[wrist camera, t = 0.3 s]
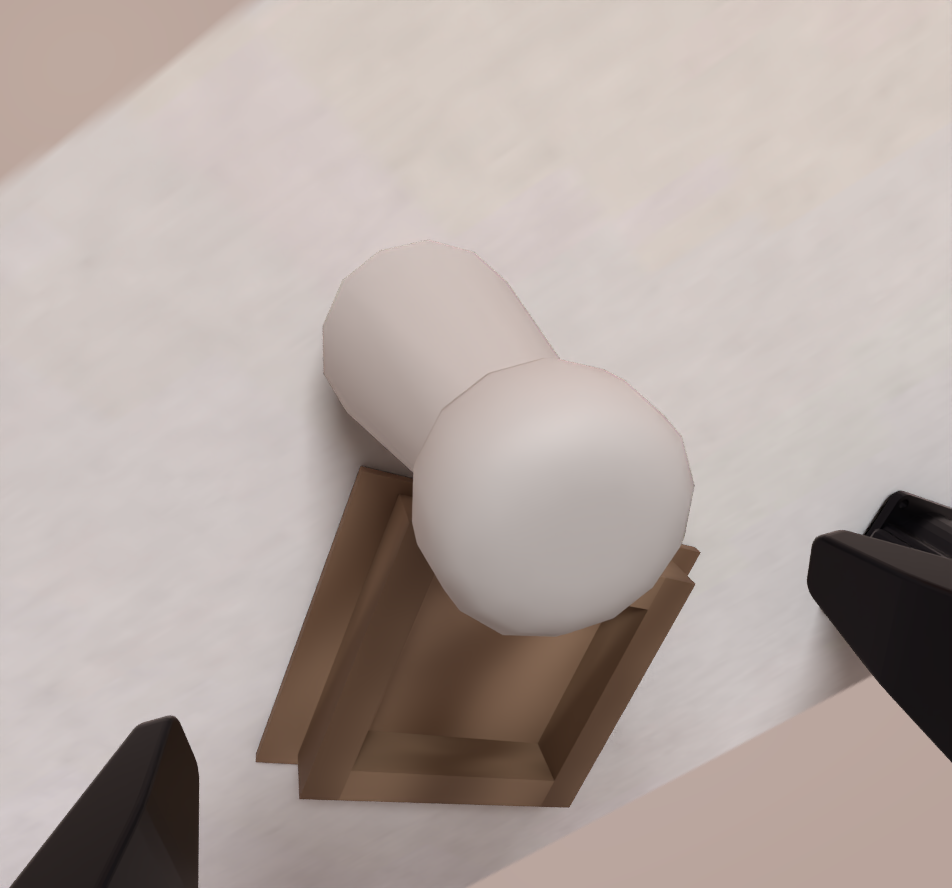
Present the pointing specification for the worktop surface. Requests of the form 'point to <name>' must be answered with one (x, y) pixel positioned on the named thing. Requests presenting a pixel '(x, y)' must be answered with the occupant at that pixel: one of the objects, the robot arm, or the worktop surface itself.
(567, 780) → the brown flat rectangular frame
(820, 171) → the worktop surface
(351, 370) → the salt shaker
